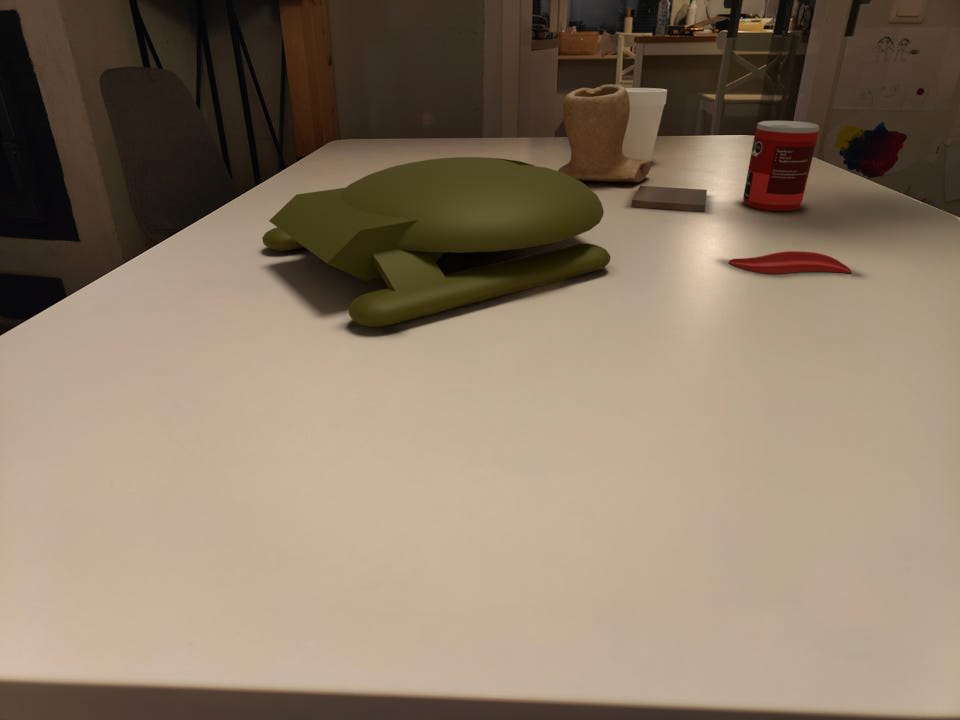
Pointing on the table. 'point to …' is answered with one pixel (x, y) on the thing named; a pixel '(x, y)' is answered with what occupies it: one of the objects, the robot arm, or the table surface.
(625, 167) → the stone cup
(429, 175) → the spaceship
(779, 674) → the table surface
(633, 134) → the foam cup
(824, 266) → the cayenne pepper
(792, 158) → the canned food
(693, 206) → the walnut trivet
